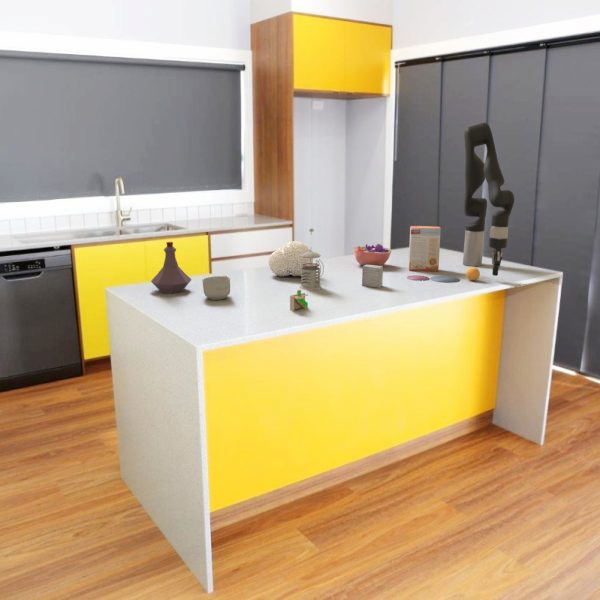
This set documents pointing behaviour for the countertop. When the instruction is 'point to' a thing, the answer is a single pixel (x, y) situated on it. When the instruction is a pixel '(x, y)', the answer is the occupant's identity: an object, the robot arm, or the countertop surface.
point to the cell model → (372, 255)
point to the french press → (311, 272)
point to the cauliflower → (289, 259)
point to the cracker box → (424, 248)
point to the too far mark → (418, 277)
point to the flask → (170, 273)
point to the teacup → (216, 287)
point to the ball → (472, 273)
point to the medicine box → (372, 276)
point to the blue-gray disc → (445, 279)
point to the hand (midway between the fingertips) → (495, 275)
